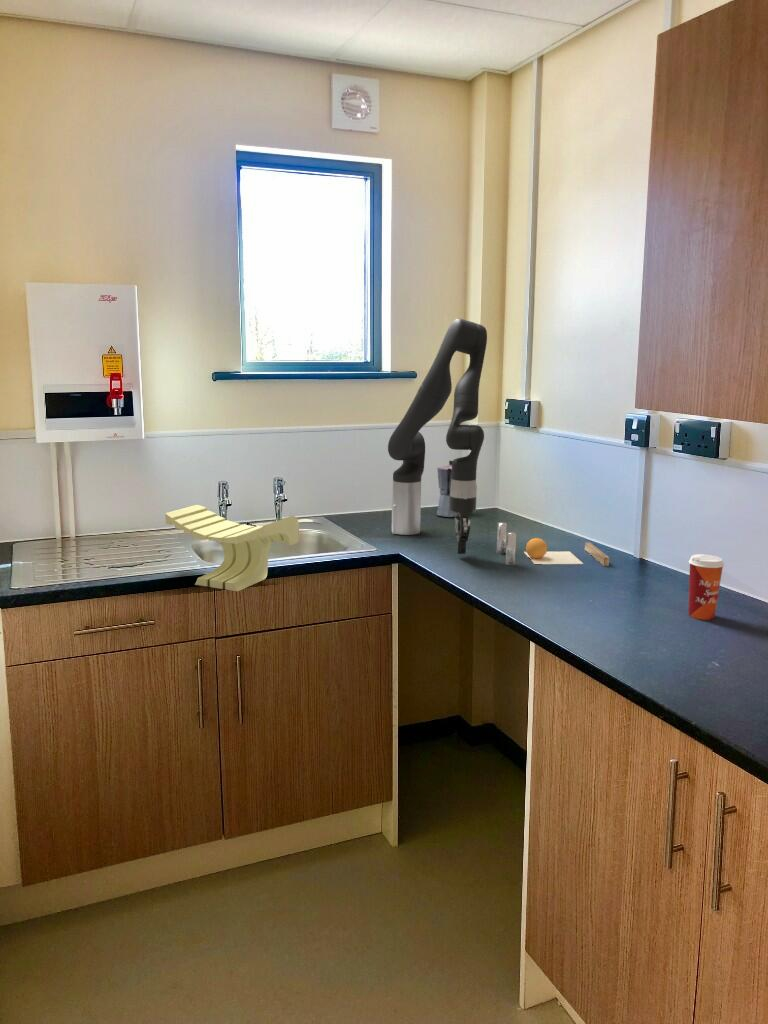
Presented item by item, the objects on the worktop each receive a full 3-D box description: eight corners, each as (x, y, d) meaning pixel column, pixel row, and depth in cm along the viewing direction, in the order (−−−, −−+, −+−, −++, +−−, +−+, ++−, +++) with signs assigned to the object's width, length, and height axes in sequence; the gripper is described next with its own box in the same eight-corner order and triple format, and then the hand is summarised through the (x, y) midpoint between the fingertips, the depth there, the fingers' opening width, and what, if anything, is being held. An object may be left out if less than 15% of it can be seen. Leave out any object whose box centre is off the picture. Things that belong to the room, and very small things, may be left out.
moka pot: (462, 512, 308) (464, 458, 304) (462, 520, 293) (464, 464, 289) (436, 511, 309) (438, 457, 305) (435, 520, 294) (436, 463, 290)
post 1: (497, 553, 248) (498, 524, 246) (495, 551, 250) (496, 522, 249) (506, 553, 248) (507, 524, 246) (504, 551, 251) (505, 522, 249)
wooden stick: (603, 566, 236) (604, 557, 235) (584, 550, 253) (585, 542, 253) (608, 566, 236) (609, 557, 235) (589, 550, 253) (590, 542, 253)
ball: (528, 541, 239) (549, 541, 239) (525, 535, 245) (545, 535, 245) (527, 561, 241) (548, 561, 241) (524, 555, 246) (544, 555, 246)
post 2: (506, 565, 235) (508, 534, 233) (504, 563, 238) (506, 532, 236) (515, 565, 235) (517, 534, 233) (513, 562, 238) (515, 532, 236)
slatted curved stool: (299, 579, 218) (298, 513, 215) (266, 596, 204) (265, 525, 201) (205, 565, 231) (203, 502, 227) (168, 580, 216) (165, 513, 213)
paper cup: (701, 623, 188) (706, 563, 186) (676, 613, 195) (681, 555, 192) (727, 619, 191) (733, 560, 189) (702, 609, 198) (707, 552, 196)
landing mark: (534, 564, 236) (534, 563, 236) (523, 552, 250) (523, 551, 250) (583, 564, 237) (583, 563, 237) (569, 552, 251) (569, 551, 251)
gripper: (447, 490, 244) (445, 548, 248) (453, 499, 232) (451, 559, 235) (472, 490, 245) (470, 547, 248) (480, 499, 232) (478, 559, 236)
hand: (461, 553), depth 242 cm, fingers closed
